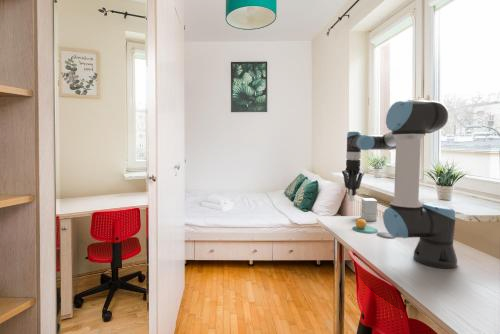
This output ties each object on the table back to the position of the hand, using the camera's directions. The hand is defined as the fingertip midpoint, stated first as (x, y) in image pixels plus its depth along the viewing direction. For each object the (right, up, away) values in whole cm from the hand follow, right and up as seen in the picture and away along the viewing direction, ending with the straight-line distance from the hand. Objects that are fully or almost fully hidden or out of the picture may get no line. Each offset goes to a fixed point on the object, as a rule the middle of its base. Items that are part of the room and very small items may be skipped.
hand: (351, 200), depth 167 cm
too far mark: (+13, -16, -15) cm, 25 cm away
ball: (+4, -12, -4) cm, 13 cm away
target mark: (+5, -15, -6) cm, 17 cm away
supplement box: (+15, -13, +14) cm, 25 cm away
